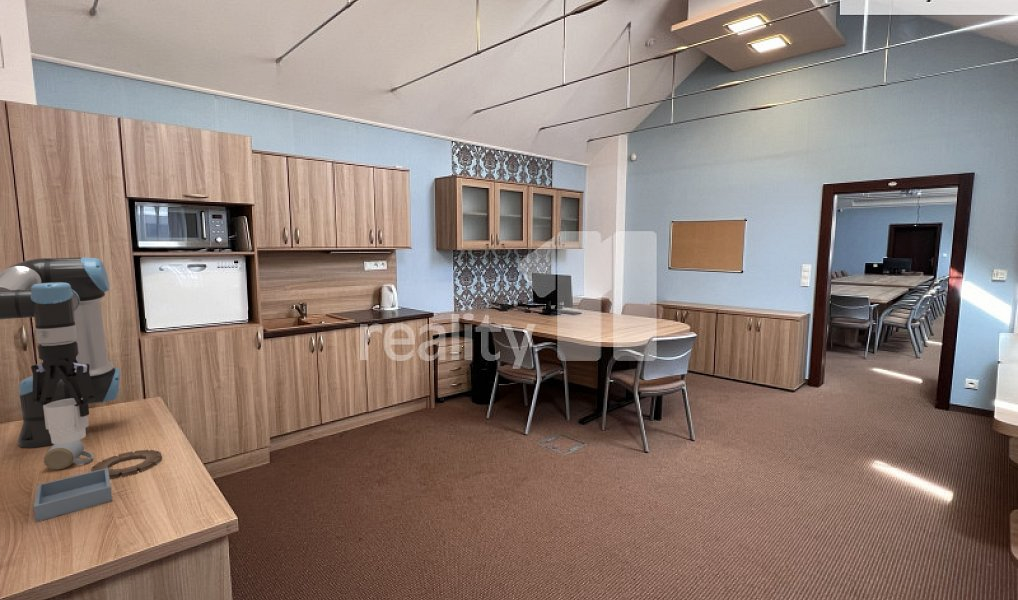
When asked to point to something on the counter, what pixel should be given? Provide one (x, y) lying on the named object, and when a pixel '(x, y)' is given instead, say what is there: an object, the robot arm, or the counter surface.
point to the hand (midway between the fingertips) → (67, 427)
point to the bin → (72, 494)
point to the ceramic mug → (66, 455)
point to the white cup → (63, 421)
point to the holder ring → (149, 455)
